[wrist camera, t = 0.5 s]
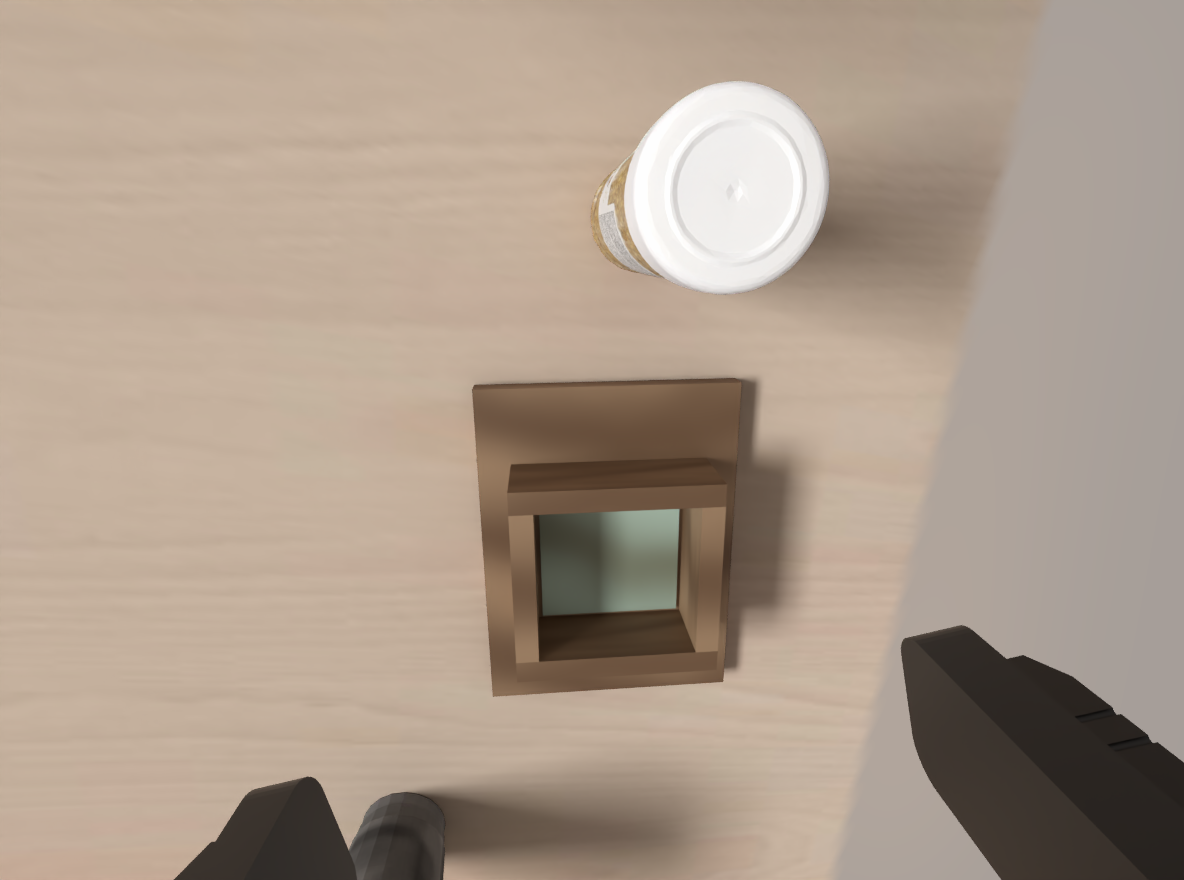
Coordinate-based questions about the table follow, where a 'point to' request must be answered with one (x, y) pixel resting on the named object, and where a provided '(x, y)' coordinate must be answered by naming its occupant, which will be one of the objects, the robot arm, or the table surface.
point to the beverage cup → (400, 840)
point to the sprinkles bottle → (717, 192)
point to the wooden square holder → (606, 531)
